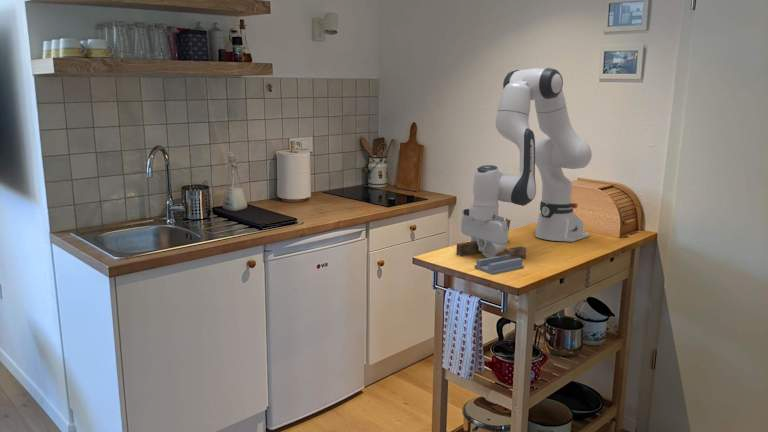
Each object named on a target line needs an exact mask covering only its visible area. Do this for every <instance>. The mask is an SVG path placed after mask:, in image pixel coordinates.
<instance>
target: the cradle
mask: <svg viewBox="0 0 768 432" xmlns="http://www.w3.org/2000/svg"><path fill="white" fill-rule="evenodd" d="M524 268H525V266H524V264H523V260H522V259H521V258H516V259H511V260H510V255H508V254H505V255H504V254H502V255H501V254H500V255H496V256H494V257H486V258H480V259H476V264H475V265H474V269H476V270H478V271H481V272H484V273H487V274H490V275H492V276H494V275H499V274H502V273H507V272H513V271H516V270H521V269H524Z"/></svg>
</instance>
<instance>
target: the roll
mask: <svg viewBox="0 0 768 432" xmlns="http://www.w3.org/2000/svg"><path fill="white" fill-rule="evenodd" d="M484 245H485V244H484ZM506 245H507V244H504V245H498V244H495V243H491V244H490V246H489V248H488V252H487V253H483V252H482V255H483V256H484V257H486V258H489V257H495V256H498V255H499V254H500V253H503V251H505V249H507V248H506V247H507V246H506Z"/></svg>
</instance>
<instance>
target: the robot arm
mask: <svg viewBox="0 0 768 432" xmlns="http://www.w3.org/2000/svg"><path fill="white" fill-rule="evenodd" d="M502 82H503V83H502V89H503V90H502V93H501V96H500V99H499V103H498V106H497V111H496V116H495V129H496V130H497V132H498V134H499V135H501V136H502V137H503V138H505V139H506V140H508V141H510V142H511V143H514V144H515V145H516V146H517V148H518V150H519V171H518V172H519V173H518V175H516V174H509V173H503V172H501V171H500V170H499V167H498V166H496V165H493V164H491V165H490V164H488V165H487V164H486V165H481V166H479V167H477V168H476V170H475V173H474V179H473V188H472V190H473V191H472V192H473V193H472V194H473V200H472V206H470V207H466V208H463V209H461V214H462V216H461V221H460V222H461V223H460V231H461V233H462V235H465V236H469V237H470V238H471V237H474V238H477V244H478V246H479V251H480V252H483V253H487V252H488V248H489V246H490V244H491V243H495V244H498V245H504V244H505V245H507V244H508V242H509V231H508V226H507V221H506V220H505V219H504V218H505V217H503V216H500V217H499V202H503V203H511V204H513V205H514V204H515V205H519V206H522V207H523V206H524V207H525V206H527V205H528V204H530V203H531V202H532V201H533V200H534V199H535V197H536V194H537V184H536V177H535V173H536V167H537V169H538V172H539V174H540V176H541V177H540V178H541V182H542V183H541V185H542V186H541V188H542V189H541V201H540V203H539V210H540V212H539V214H538V218H537V224H536V229H535V230H534V233H535V236H534V237H536V238H538V239H541V240H547V241H554V242H555V241H556V242H567V243H568V242H571V243H573V242H577V241H580V240H581V239H585V238H587V237H590V233H588V232H586V231H584V221H582V219H581V218H580V217H579V216H577V214H576V213H574V209H578V205H579V204H578V203H574V202H572V190H573V189H572V188H573V185H572V182H571V180H570V179H569V178H568V177H566V176H565V174H564V172H563V169H570V170H575V169H576V170H578V169H584V168H586V167H587V166H588V165H589V164H590V162H591V160H592V156H593V153H592V149H591V146H590V145H589V143H587V142H586V141H584V140H583V139H582V138H581V137H580V136H579V135H578V134H577V133H576V132H577V131H576V130H575V129H574V128H573V126H572V123H571V121H570V118H569V112H568V107H567V103H566V99H565V98H566V97H565V94H564V90H563V85H564V80H563V76H562V74H561V73H560V71H558V70H557V69H554V68H550V67H547V68H539V67H535V68H533V67H532V68H528V69H527V68H525V69H521V70H519V69H515V70H512V71H510V72H508V73H507V74H506V76H505V77H504V80H503V81H502ZM531 101H534V108H535V113H536V117H537V121H538V126H539V129H540V131H541V132H542V133H543V134H544V135H546V136H547V137H545V138H538V139H536V137H535V133H534V131H533V130H531V128H530V124H529V117H530V112H531V111H530V110H531ZM483 241H484V243H485V245H483Z"/></svg>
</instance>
